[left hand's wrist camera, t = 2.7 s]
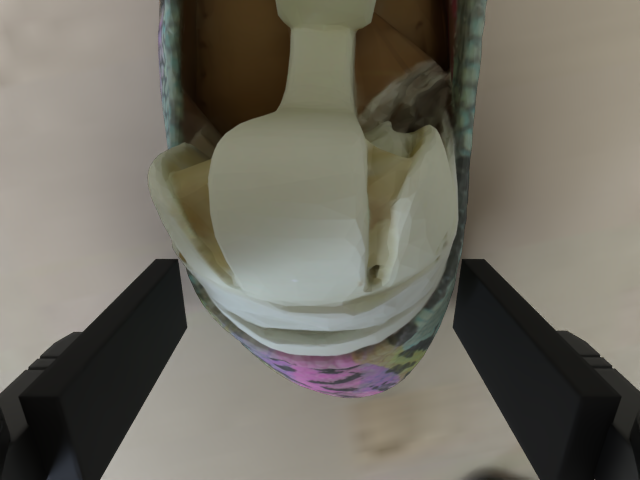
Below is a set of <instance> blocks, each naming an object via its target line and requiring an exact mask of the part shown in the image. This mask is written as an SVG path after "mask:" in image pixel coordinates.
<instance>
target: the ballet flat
mask: <svg viewBox="0 0 640 480" xmlns="http://www.w3.org/2000/svg"><path fill="white" fill-rule="evenodd" d="M486 3H487V0H159V5H160V21H159V31H158V43H159V69H160V87H161V98H162V106H163V113H164V121H165V129H166V137H167V145H168V150H167V151H165V152H163V153H161V154H160V155H159V156H158V157H157V158H156V159H155V160H154V161H153V163H152V164H151V166H150V168H149V172H148V187H149V191H150V194H151V198H152V200H153V202H154V205H155V207H156V209H157V211H158V214H159V216H160V218H161V220H162V223H163V225H164V226H165V228H166V230H167V232H168V233H169V235H170V237H171V239H172V247H173V250H174V251H175V253H176V254H177V256H178V257H179V259H180V260H181V261H182V263H183V264H184V266H185V267H186V270H187V273H188V276H189V278H190V280H191V283H192V285H193V287H194V289H195V292H196V293H197V295H198V297H199V299H200V300H201V302H202V304H203V305H204V306H205V308H206V309H207V310H208V311H209V313H210V314H211V315H212V317H213V318H214V319H215V320H216V321H217V322H218V323H219V324H220V325H221V326H222V327H223V328H224V329H225V330H226V331H228V332H229V333H230V334H232V335H233V336H234V337H235V338H236V339H237V340H239V341H240V342H241V343H242V344H243V345H244V346H245V347H246V348H247V349H248V350H249V351H250V352H252V353H253V354H254V355H255V356H256V357H257V358H258V359H260V360H261V361H262V362H263V363H264V364H266V365H267V366H268V367H270V368H271V369H272V370H274V371H275V372H276V373H278V374H280V375H281V376H283V377H284V378H286V379H288V380H289V381H291V382H293V383H295V384H297V385H300V386H302V387H306V388H309V389H312V390H314V391H317V392H321V393H324V394H328V395H332V396H338V397H343V398H358V397H365V396H370V395H374V394H377V393H380V392H383V391H385V390H387V389H389V388H391V387H393V386H395V385H396V384H398V383H399V382H400V381H402V380H403V379H404V378H405V377H406V376H407V375H408V374H409V373H410V372H411V371H412V369H413V368H414V367H415V366H416V365H417V364H418V362H419V361H420V360H421V358H422V357H423V356H424V354H425V352H426V351H427V349H428V347H429V345H430V344H431V342H432V340H433V338H434V336H435V334H436V333H437V331H438V329H439V327H440V324H441V322H442V319H443V317H444V314H445V312H446V309H447V307H448V304H449V301H450V298H451V295H452V292H453V289H454V285H455V280H456V274H457V267H458V264H459V260H460V257H461V253H462V246H463V239H464V229H465V224H466V212H467V203H468V187H469V165H470V156H471V149H472V130H473V122H474V113H475V102H476V91H477V83H478V78H479V71H480V62H481V47H482V34H483V28H484V22H485V8H486Z"/></svg>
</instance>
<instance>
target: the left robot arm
mask: <svg viewBox="0 0 640 480" xmlns="http://www.w3.org/2000/svg"><path fill="white" fill-rule="evenodd" d="M186 329H187V322H186V315H185V308H184V300H183V293H182V285H181V278H180V271H179V263H178V259H156V260H155V261H154V262H153V263H152V264H151V265H150V266H149V267H148V268H147V269H146V270H145V271H144V272H143V273H142V274H141V275H140V276H139V277H138V278H136V279H135V280H134V281H133V282H132V283H131V284H130V285H129V286H128V287H127V288H126V289H125V290H124V291H123V292H122V293H121V294H120V295H119V296H118V297H117V298H116V299H115V300H114V301H113V302H112V303H111V304H110V305H109V306H108V307H107V308H106V309H105V310H104V311H103V312H102V313H101V314H100V315H99V316H98V317H97V318H96V319H95V320H94V321H93V322H92V323H91V324H90V325H89V326H88V327H87V328H86V329H85V330H84V331H83V332H73V333H71V334H69V335H68V336H66V337H64V338H62V339H61V340H59V341H57V342H55V343H54V344H53V345H52V346H51V347H50V348H49V349H47V350H46V351H45V352H44V353H43V354H42V355H41V356H40V359H37V360H36V361H35V362H34V363H32V364H31V365H30V366H29V369H28V370H25V371H24V372H23V373H22V374H21V375H20V376H19V377H17V378H16V379H15V380H14V381H13V382H12V383H11V384H10V385H9V386H8V387H7V388H6V389H5V390H4V391H2V392H1V393H0V480H100V479H101V477H102V475H103V474H104V472H105V470H106V468H107V467H108V465H109V463H110V461H111V460H112V458H113V456H114V454H115V453H116V451H117V449H118V447H119V446H120V444H121V442H122V440H123V439H124V437H125V435H126V433H127V432H128V430H129V428H130V426H131V425H132V423H133V421H134V419H135V418H136V416H137V414H138V412H139V411H140V409H141V407H142V406H143V404H144V402H145V400H146V399H147V397H148V395H149V393H150V392H151V390H152V388H153V386H154V385H155V383H156V381H157V379H158V378H159V376H160V374H161V372H162V371H163V369H164V367H165V365H166V364H167V362H168V360H169V358H170V357H171V355H172V353H173V351H174V350H175V348H176V346H177V344H178V343H179V341H180V339H181V337H182V336H183V334H184V332H185V330H186ZM453 329H454V330H455V332H456V334H457V336H458V337H459V339H460V341H461V343H462V344H463V346H464V348H465V350H466V351H467V353H468V355H469V357H470V358H471V360H472V362H473V364H474V365H475V367H476V369H477V371H478V372H479V374H480V376H481V378H482V379H483V381H484V383H485V385H486V386H487V388H488V390H489V392H490V393H491V395H492V397H493V399H494V400H495V402H496V404H497V406H498V407H499V409H500V411H501V413H502V414H503V416H504V418H505V419H506V421H507V423H508V425H509V426H510V428H511V430H512V432H513V433H514V435H515V437H516V439H517V440H518V442H519V444H520V446H521V447H522V449H523V451H524V453H525V454H526V456H527V458H528V460H529V461H530V463H531V465H532V467H533V468H534V470H535V472H536V474H537V475H538V477H539V479H540V480H594V479H595V480H640V391H639V390H638V389H636V388H635V387H634V386H633V385H632V384H631V383H630V382H629V381H628V380H627V379H626V378H625V377H624V376H622V375H621V374H620V373H619V372H618V371H617V370H616V369H613V368H612V365H611V364H609V363H608V362H607V361H606V360H605V359H604V358H603V357H600V354H599V353H598V352H597V351H595V350H594V349H593V348H592V347H591V346H590V345H589V344H588V343H587V342H585V341H584V340H582V339H580V338H578V337H577V336H575V335H573V334H571V333H570V332H568V331H556V330H555V329H554V328H553V327H552V326H551V325H550V324H549V323H548V322H547V321H546V320H545V319H544V318H543V317H542V316H541V315H540V314H539V313H538V312H537V311H536V310H535V309H534V308H533V307H532V306H531V305H530V304H529V303H528V302H527V301H526V300H525V299H524V298H523V297H522V296H521V295H520V294H519V293H518V292H517V291H516V290H515V289H514V288H513V287H512V286H511V285H510V284H509V283H508V282H506V281H505V280H504V279H503V278H502V277H501V276H500V275H499V274H498V273H497V272H496V271H495V270H494V269H493V268H492V267H491V266H490V265H489V264H488V263H487V262H486V261H485V260H484V259H462V263H461V271H460V278H459V285H458V293H457V300H456V307H455V315H454V322H453Z"/></svg>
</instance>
